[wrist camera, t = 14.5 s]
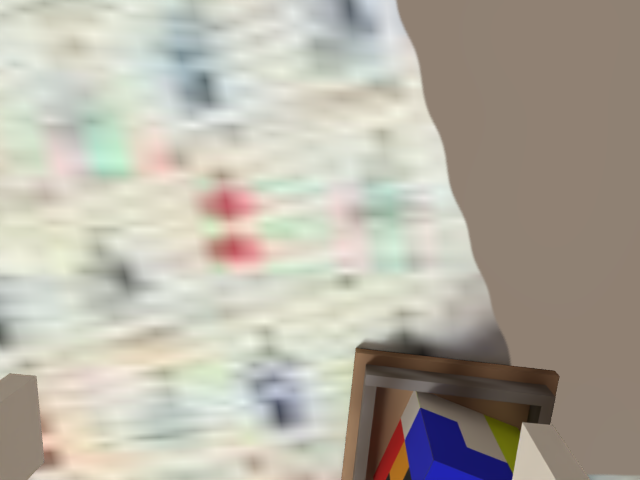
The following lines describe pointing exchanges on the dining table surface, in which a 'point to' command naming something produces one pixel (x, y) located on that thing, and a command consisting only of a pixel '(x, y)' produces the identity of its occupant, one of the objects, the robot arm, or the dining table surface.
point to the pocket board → (440, 380)
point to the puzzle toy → (448, 444)
